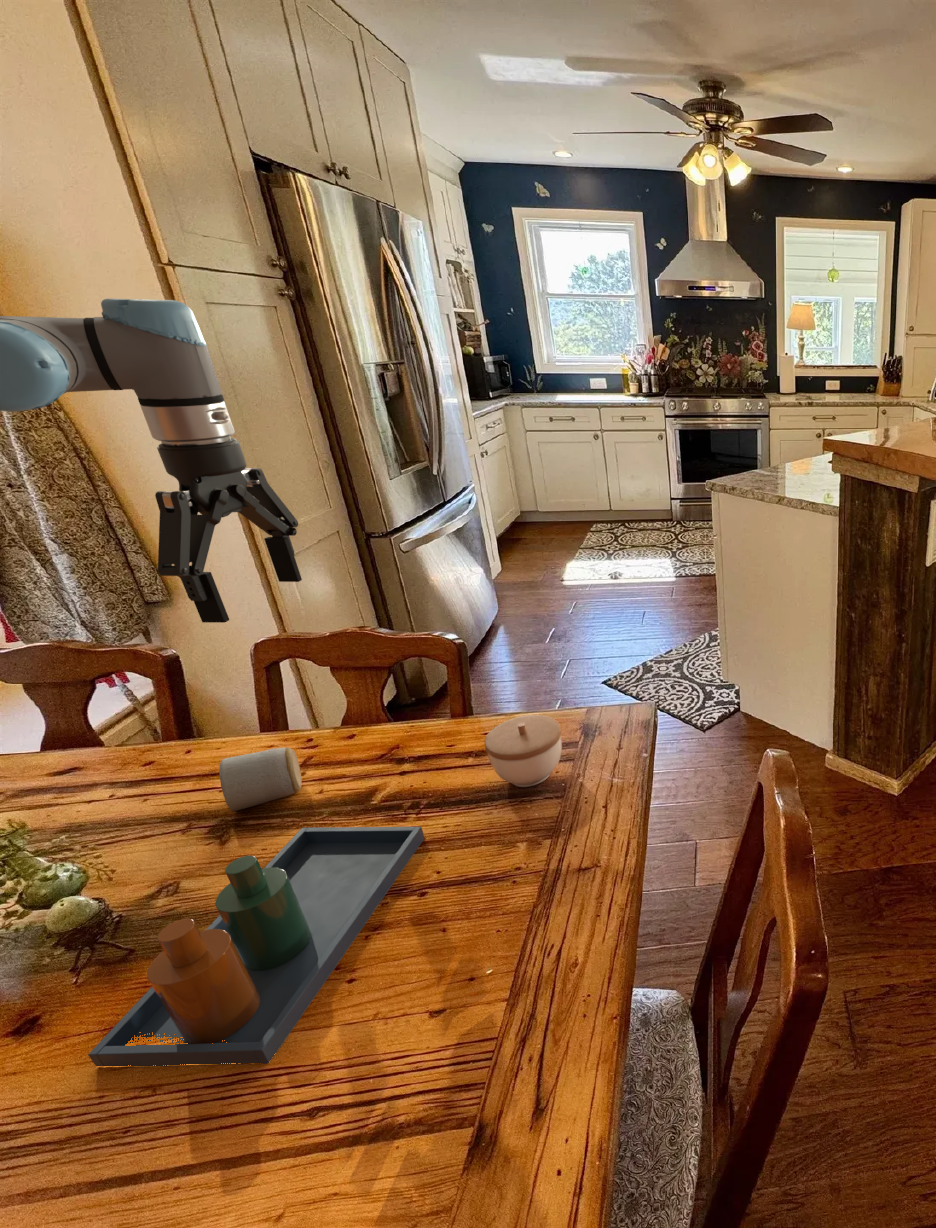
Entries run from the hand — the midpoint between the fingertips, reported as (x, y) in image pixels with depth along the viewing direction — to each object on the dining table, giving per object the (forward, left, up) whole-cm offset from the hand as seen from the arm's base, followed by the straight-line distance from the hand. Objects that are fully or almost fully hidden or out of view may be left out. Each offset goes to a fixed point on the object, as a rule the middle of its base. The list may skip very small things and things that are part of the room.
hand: (256, 599), depth 88 cm
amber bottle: (+15, -38, -29) cm, 51 cm away
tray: (+15, -28, -30) cm, 44 cm away
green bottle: (+15, -30, -29) cm, 45 cm away
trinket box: (+32, +1, -30) cm, 44 cm away
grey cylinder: (-5, -3, -30) cm, 31 cm away
